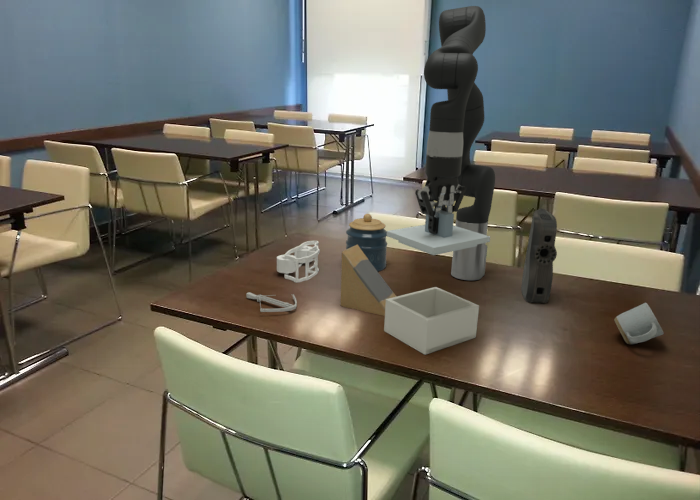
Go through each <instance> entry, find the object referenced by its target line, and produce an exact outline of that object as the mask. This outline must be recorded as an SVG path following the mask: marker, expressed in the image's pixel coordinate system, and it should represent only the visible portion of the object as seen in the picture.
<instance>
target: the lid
mask: <svg viewBox="0 0 700 500" xmlns="http://www.w3.org/2000/svg"><path fill="white" fill-rule="evenodd" d="M434 209H435V207H434V208H433V211H434ZM438 218H439V225H438V233H437V234H432V233H430V232H429V230H428V221H429V216H428V215H426V214H425V222H424V224H422V225H415V226H409V227H404V228H398V229H397V228H396V229H390V230H386V231H387V236H386V238H387V237H388V238H391V239H393V240H397V242H398V243H400V244H402V245H404V246H408V247H411V248H413V249H415V250H418V251H421V252H423V253H426V254H429V255H431V256H436V255H437V256H438V255H441V254H446V253H450V252H452V253H453V251H456V250H461V249H466V248H471V247H475V246H477V244H482V243H486V244H487V243H490V242H491V236H490V235H488V234H487V235H484V234H480V233H477V232H474V231H470V230H467V229H464V228H460V227H457V226H456V225H454V220H455V219H454V218H455V213H454V212H453V213H449V212H446V211H442V210H440V212H439V216H438Z"/></svg>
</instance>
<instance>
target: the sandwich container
mask: <svg viewBox="0 0 700 500" xmlns="http://www.w3.org/2000/svg"><path fill="white" fill-rule="evenodd" d="M340 266H341V267H340V268H341V269H340V306H341V307H343V308H347V309H351V310H357V311H361V312H366V313H370V314H374V315H379V316H382V317H385V306H386V299H389V298H393V297H397V295H396V293H394V292H393V290H392V289H391V287H390V286H389V285H388V283H387V282H386V281H385V279H384V278H383V277H382V275H381V274H380V273H379V271H378V272H377V270H376V269H375V268H374V266H373V265H372V264H371V262H370V261H369V260H368V258H367V257H366V256H365V254H364V253H363V251H362V250H361V249H360V247H359V246H358V245H355V246H353V247H350V248H348V249H346V248H345V249H343V251H341V265H340Z"/></svg>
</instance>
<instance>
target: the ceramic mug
mask: <svg viewBox="0 0 700 500" xmlns="http://www.w3.org/2000/svg"><path fill="white" fill-rule="evenodd" d="M613 321H614V323H615V324H616V327H617V328H618V331H619V332H620V334H621V336H622V338H623V340H624V342H625V343H626V344H627V345H636V344H638V343H644V342H647V341H649V340H651V339H654V338H657V337H660V336H662V335H664V331H663V328H662V327H661V325H660V323H659V322H658V319H657V317H656V316H655V314H654V312H653V311H652V308H651V307H650V305H649V304H648V303H647V302H644V303H642V304H640V305H638V306H634V307H633V308H631V309H628V310H626V311H624V312H622V313H620V314H618V315H617V316H615V317H614V320H613Z"/></svg>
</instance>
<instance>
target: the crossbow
mask: <svg viewBox="0 0 700 500" xmlns="http://www.w3.org/2000/svg"><path fill="white" fill-rule="evenodd" d="M245 295H246V298H247V299H250V300H251V299H252V300H256V301H257V303H258V302H259V306H260V309H259V310H260V311H259V312H261V313H266V312H267V313H277V312H278V313H280V312H289V311H293V310H296V309H297V307H298V306H297V303H298V302H297V301H298V300H297V297H296V296H295V294H294V293H293V294H292V300H294V304H291V303H289V302H288V301H287V302H284V301H281V300H278V299H275V298H272V297H270V296H275V294H270V295H269V294H268V295H263V294H255V293H252V292H249V291H248V292H247V293H246V294H245ZM262 301H263V302H265V303H266V302H267V303H269V304H273V305H275V306H278V307H282V308H263V307H262V306H261V302H262Z"/></svg>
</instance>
